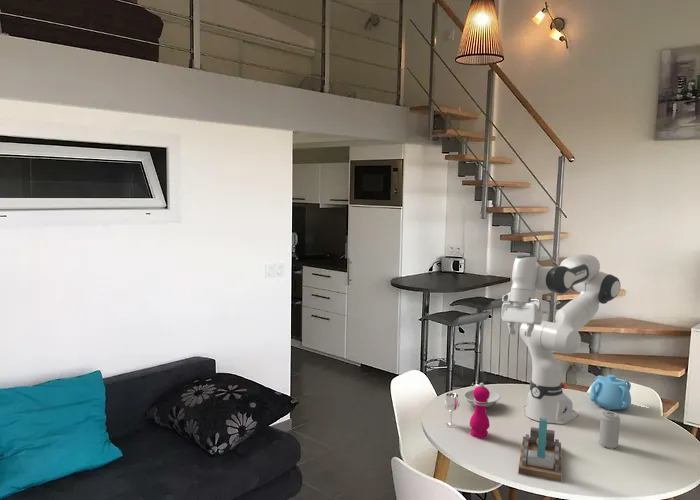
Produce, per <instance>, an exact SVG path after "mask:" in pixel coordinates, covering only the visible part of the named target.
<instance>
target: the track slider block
mask: <svg viewBox="0 0 700 500" xmlns="http://www.w3.org/2000/svg"><path fill="white" fill-rule="evenodd" d="M538 422H539V423H538V428H539V434H538V448H537V451H533V450H528V460H527V465H531V466H537V467H542V468H548V469H553V466H554V454H551V453H545V447H546V433H547V430H548V423H547V419H545V418H540V420H539V421H538Z"/></svg>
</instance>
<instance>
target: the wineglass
mask: <svg viewBox="0 0 700 500" xmlns="http://www.w3.org/2000/svg"><path fill="white" fill-rule="evenodd" d="M443 405H444V408H445V410H446V411H448V412H450V413H449V417H450V419H449V422H445V424H444V426H445V427H447V428H456V427H457V424H456V423H454V422H452V418H453V412H456V411H458V410H459V408H460V397H459V394H457V393H454V392H449V393H448V392H447V393H446V394H445V397H444V401H443Z"/></svg>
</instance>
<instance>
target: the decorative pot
mask: <svg viewBox="0 0 700 500" xmlns="http://www.w3.org/2000/svg"><path fill="white" fill-rule="evenodd" d="M631 387H632V386H631V383H630V381H628V379H627V380H626V379H620V378H618V377H617V376H616V375H614V374H608V375H607V376H603V375H597V376H596V377H595V381H593V383H592V384H591V388H590V392H589V400H590V402H593V403H594V404H595V405H597V406H599V407H602V408H604V410H605V411H612V410H626V409H627V408H629V407H630V406H631V403H632V397H631V396H632V395H631V392H630V390H631Z"/></svg>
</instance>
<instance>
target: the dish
mask: <svg viewBox="0 0 700 500" xmlns="http://www.w3.org/2000/svg"><path fill="white" fill-rule="evenodd" d="M488 390H489V393H490V396H489V398H488V399H487V400H488V404H487V405H486V408H488V407H492V406H493V405H494V404H496V402H498V401H499V400H500V399H501V394H500V393H498V392H497V391H494V390H490V389H488ZM473 391H474V389H470V390H466V391H465V392H463V395H462V397H463V398H464V399H465V400H466V401H467V402H468V404H470V405H471V406H474V407H475V403H474V399H475V397H474V396H473Z"/></svg>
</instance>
